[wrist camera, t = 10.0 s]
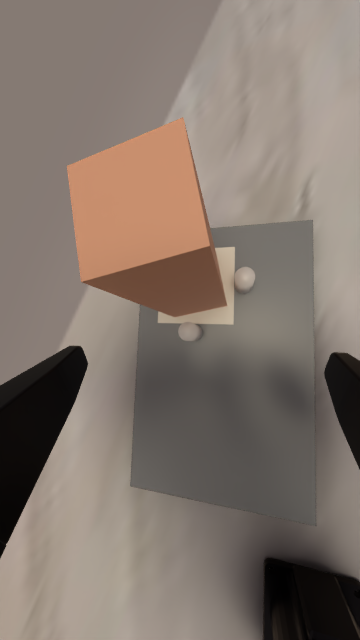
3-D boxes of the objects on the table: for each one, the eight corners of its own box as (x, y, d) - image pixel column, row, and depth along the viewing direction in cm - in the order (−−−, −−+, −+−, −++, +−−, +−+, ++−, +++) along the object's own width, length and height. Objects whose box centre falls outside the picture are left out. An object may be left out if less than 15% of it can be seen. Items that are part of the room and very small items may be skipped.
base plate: (310, 513, 17) (330, 560, 13) (136, 478, 20) (114, 507, 17) (308, 227, 19) (324, 200, 15) (148, 239, 22) (131, 219, 19)
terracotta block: (227, 305, 18) (210, 245, 7) (174, 317, 19) (81, 282, 8) (216, 253, 19) (183, 117, 7) (165, 267, 20) (67, 165, 8)
